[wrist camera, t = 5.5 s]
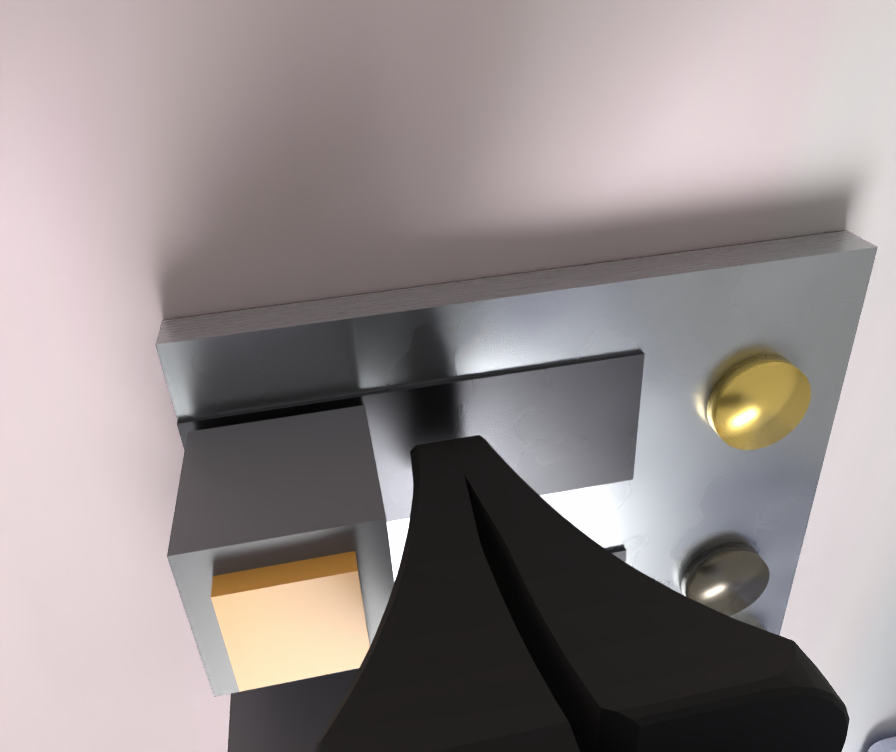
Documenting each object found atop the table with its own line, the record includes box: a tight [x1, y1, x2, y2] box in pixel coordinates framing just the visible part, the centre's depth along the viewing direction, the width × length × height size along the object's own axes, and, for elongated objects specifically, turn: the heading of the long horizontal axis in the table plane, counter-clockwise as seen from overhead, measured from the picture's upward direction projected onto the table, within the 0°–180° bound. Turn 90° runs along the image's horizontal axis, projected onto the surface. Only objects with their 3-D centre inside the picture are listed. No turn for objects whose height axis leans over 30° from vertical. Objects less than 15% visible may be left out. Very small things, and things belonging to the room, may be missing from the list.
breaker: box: [228, 668, 359, 752], centre depth 15 cm, size 3×3×3 cm
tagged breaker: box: [167, 405, 394, 697], centre depth 12 cm, size 3×3×3 cm
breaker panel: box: [156, 231, 877, 635], centre depth 18 cm, size 13×18×2 cm
